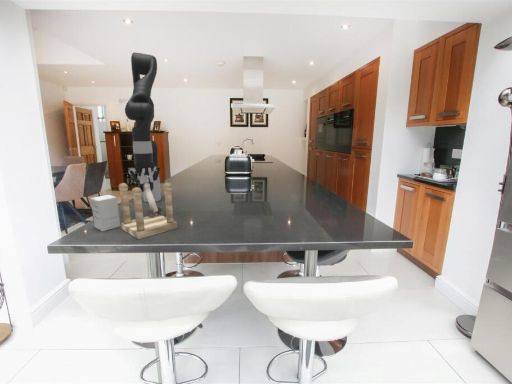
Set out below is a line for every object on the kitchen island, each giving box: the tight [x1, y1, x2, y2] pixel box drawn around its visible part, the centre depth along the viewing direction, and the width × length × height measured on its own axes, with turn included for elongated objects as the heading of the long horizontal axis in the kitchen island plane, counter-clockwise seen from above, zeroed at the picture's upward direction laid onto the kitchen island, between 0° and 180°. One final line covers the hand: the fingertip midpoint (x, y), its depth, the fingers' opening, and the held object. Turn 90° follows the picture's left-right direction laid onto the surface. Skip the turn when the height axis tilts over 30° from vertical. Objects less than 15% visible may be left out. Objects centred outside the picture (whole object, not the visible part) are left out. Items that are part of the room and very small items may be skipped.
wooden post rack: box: [118, 182, 179, 240], centre depth 106 cm, size 16×17×19 cm
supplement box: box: [90, 194, 121, 232], centre depth 108 cm, size 7×7×13 cm
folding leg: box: [143, 182, 159, 214], centre depth 116 cm, size 3×3×14 cm
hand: (146, 190), depth 118 cm, fingers closed on folding leg, 3 cm apart
